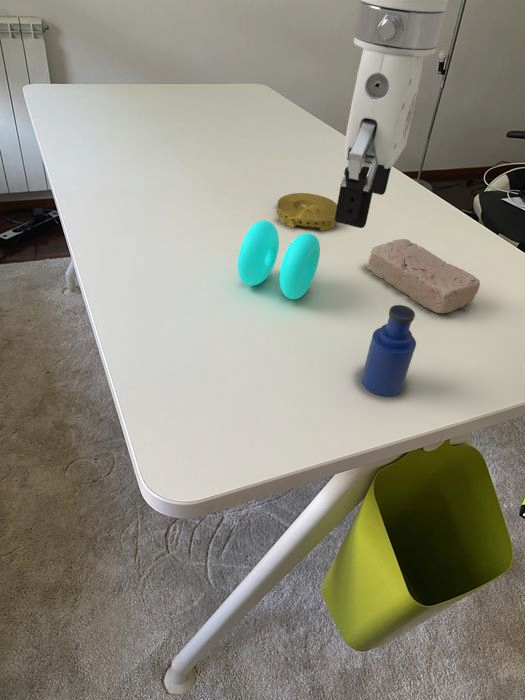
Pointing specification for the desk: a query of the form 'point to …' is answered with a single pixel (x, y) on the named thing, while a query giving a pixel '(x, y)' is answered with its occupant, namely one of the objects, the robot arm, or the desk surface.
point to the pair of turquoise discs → (263, 252)
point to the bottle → (390, 353)
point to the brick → (423, 276)
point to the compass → (307, 210)
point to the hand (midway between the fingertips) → (361, 206)
